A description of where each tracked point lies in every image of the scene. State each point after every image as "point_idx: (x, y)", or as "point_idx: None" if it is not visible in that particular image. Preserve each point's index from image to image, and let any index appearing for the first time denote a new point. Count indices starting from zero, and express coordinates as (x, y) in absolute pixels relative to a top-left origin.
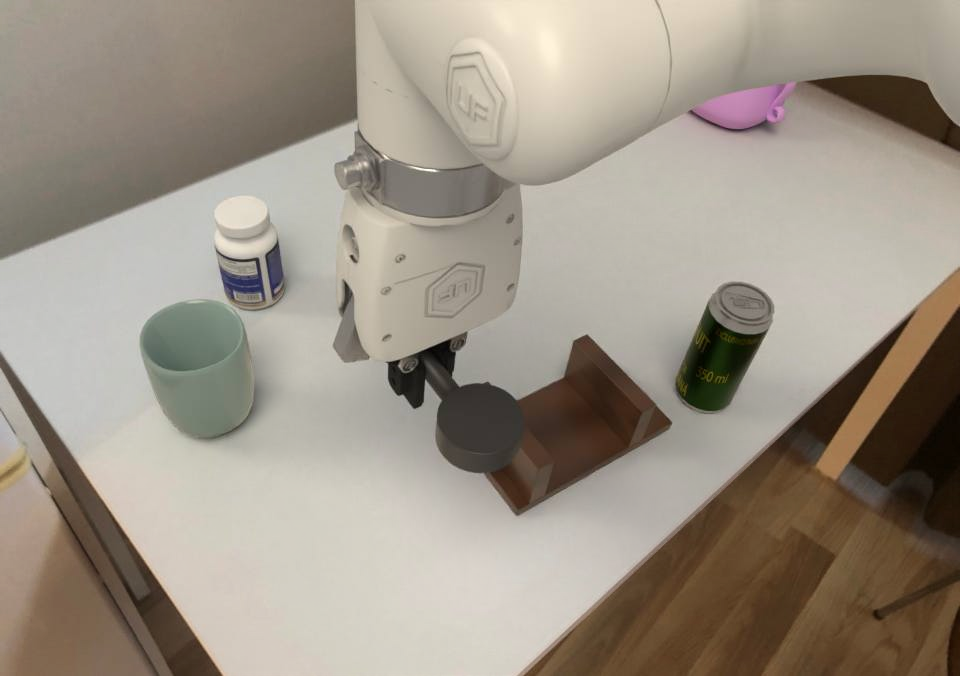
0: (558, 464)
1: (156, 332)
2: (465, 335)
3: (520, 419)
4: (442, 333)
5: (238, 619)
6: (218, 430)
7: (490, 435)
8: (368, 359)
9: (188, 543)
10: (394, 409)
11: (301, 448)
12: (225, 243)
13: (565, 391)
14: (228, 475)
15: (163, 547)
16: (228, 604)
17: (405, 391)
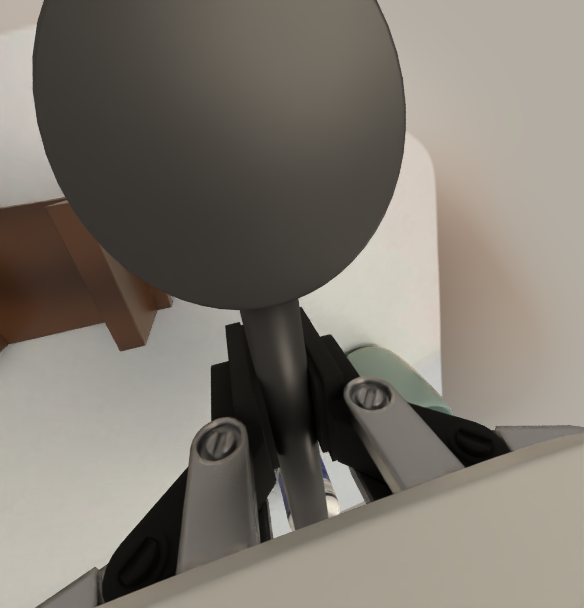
0: (49, 230)
1: None
2: (194, 474)
3: (60, 55)
4: (443, 593)
5: (411, 188)
6: (374, 349)
7: (246, 31)
8: (497, 426)
9: (414, 266)
10: (224, 342)
11: (313, 323)
12: (335, 510)
13: (11, 325)
14: (369, 313)
15: (428, 269)
16: (411, 205)
17: (322, 340)
